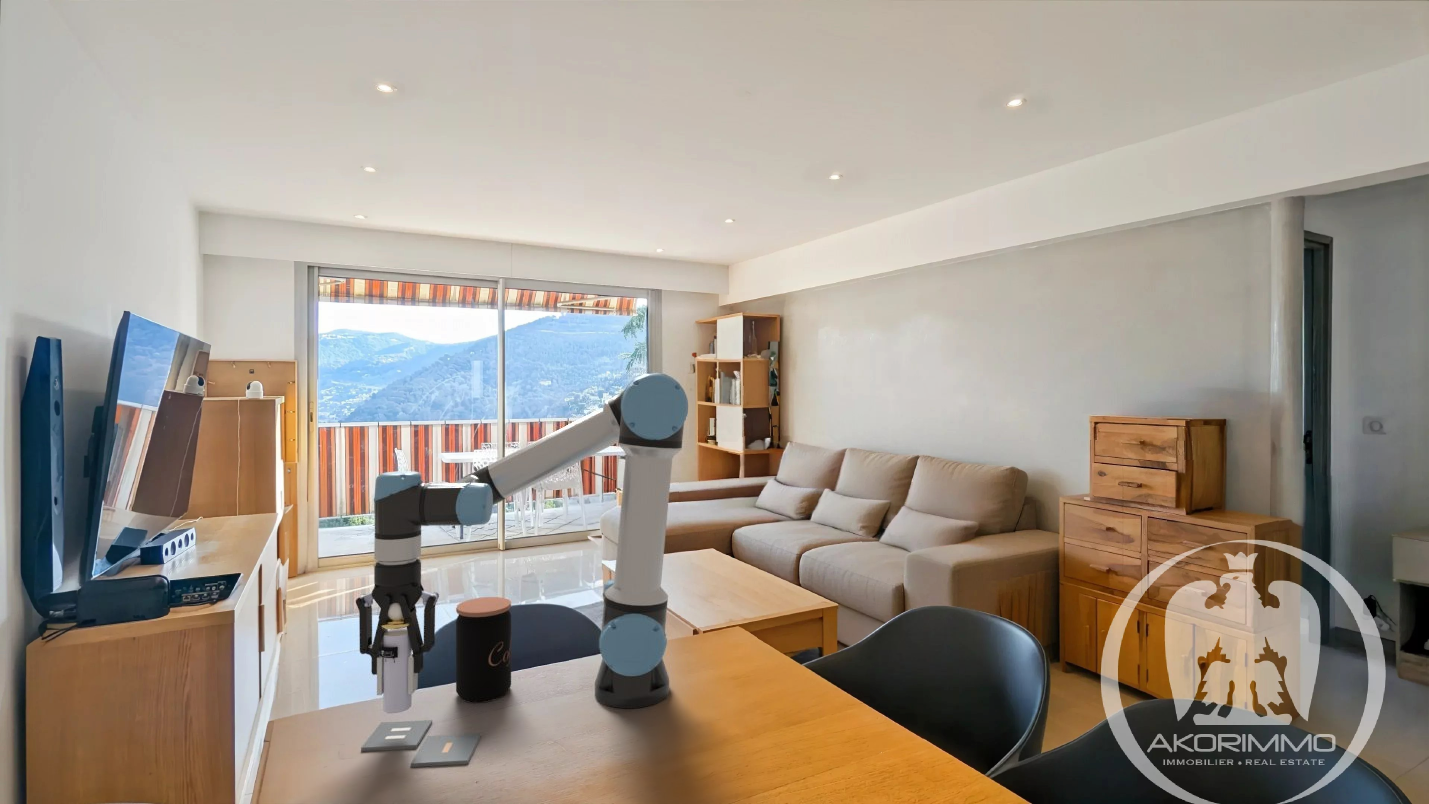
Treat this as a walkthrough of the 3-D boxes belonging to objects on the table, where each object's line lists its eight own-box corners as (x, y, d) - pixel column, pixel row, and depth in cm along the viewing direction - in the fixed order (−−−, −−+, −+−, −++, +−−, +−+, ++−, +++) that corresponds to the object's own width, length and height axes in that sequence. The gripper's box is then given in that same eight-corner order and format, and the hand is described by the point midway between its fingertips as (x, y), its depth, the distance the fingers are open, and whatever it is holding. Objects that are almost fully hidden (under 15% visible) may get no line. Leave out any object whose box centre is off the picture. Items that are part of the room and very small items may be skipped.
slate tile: (480, 736, 121) (480, 733, 121) (467, 763, 112) (467, 760, 112) (427, 739, 120) (427, 735, 120) (410, 767, 111) (410, 763, 111)
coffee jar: (494, 706, 132) (494, 614, 132) (445, 701, 135) (444, 610, 134) (520, 684, 143) (520, 598, 143) (474, 679, 145) (474, 595, 145)
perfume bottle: (398, 702, 124) (398, 592, 124) (422, 707, 122) (423, 596, 122) (371, 715, 119) (372, 601, 119) (396, 721, 117) (397, 605, 117)
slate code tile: (432, 723, 126) (432, 719, 126) (416, 748, 117) (416, 744, 117) (381, 725, 125) (381, 722, 125) (361, 751, 116) (361, 747, 116)
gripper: (455, 553, 125) (454, 680, 125) (354, 555, 123) (354, 684, 123) (443, 563, 118) (442, 698, 118) (336, 565, 116) (335, 702, 116)
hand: (397, 691), depth 121 cm, fingers closed on perfume bottle, 4 cm apart
